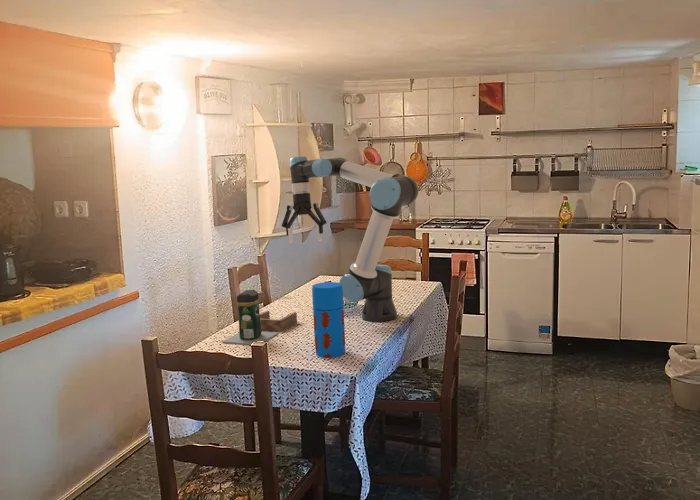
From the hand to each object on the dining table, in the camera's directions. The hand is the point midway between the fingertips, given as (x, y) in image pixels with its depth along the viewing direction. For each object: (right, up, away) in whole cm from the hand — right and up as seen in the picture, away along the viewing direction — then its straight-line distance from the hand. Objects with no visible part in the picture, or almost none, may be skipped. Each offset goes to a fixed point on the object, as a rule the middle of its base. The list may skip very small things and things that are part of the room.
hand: (305, 242), depth 290 cm
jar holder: (-12, -35, -6) cm, 38 cm away
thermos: (+12, -41, -49) cm, 64 cm away
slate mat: (-20, -38, -25) cm, 50 cm away
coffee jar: (-20, -38, -25) cm, 49 cm away
